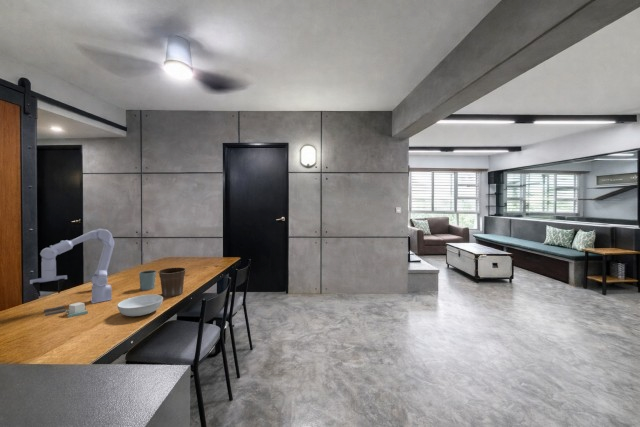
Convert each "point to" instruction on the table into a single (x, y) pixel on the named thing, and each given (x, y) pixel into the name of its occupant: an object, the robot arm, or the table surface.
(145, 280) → the drinking glass
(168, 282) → the plant pot
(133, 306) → the serving bowl
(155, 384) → the table surface
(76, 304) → the grey cube
